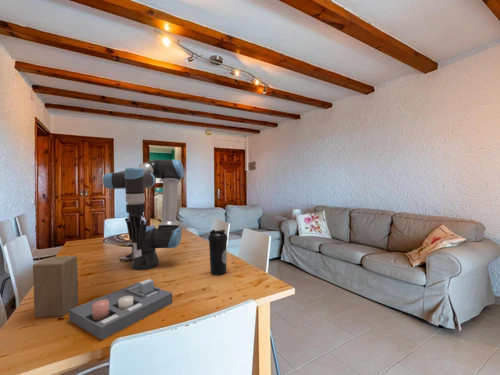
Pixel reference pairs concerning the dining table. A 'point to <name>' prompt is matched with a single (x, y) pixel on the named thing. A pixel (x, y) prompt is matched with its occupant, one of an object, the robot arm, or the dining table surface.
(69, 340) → the dining table surface
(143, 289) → the slider knob
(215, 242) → the water bottle
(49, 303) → the wooden block
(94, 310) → the button coral
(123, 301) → the button ivory
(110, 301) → the console
